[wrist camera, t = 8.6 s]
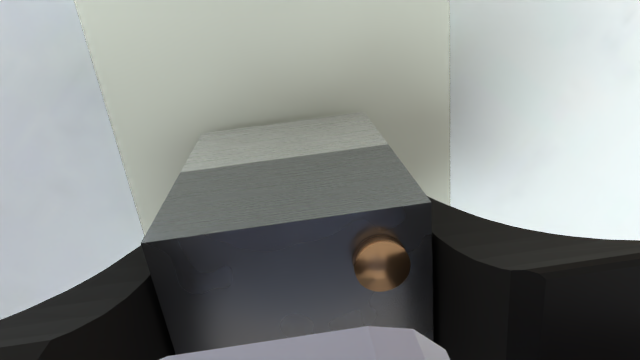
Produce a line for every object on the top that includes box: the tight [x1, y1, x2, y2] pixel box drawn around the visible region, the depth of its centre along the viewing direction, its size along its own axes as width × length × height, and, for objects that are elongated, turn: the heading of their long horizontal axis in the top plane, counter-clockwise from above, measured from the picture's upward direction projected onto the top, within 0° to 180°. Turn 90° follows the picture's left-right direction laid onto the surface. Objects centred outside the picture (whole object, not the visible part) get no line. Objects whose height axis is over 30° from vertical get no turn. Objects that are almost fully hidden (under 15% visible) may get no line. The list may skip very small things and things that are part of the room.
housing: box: [141, 112, 433, 355], centre depth 11 cm, size 5×6×6 cm
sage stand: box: [74, 0, 450, 236], centre depth 15 cm, size 10×18×2 cm, turn 6°
